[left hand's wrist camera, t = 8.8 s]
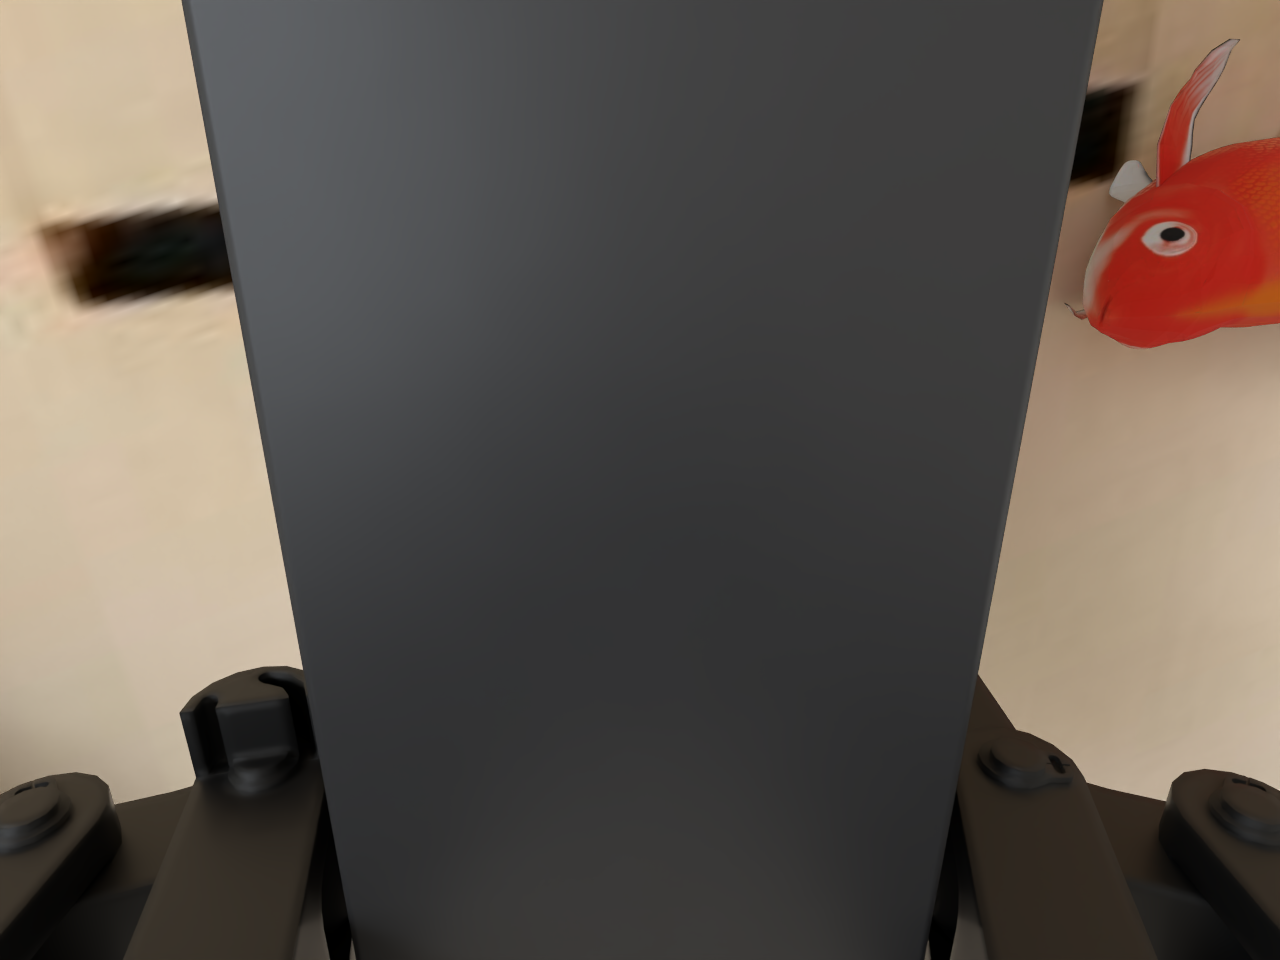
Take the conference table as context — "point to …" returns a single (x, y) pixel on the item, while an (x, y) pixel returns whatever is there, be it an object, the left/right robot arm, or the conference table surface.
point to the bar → (641, 442)
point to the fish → (1189, 234)
